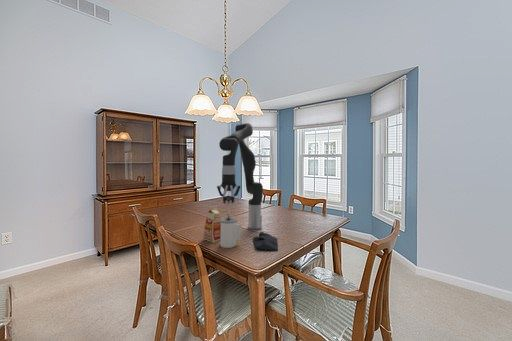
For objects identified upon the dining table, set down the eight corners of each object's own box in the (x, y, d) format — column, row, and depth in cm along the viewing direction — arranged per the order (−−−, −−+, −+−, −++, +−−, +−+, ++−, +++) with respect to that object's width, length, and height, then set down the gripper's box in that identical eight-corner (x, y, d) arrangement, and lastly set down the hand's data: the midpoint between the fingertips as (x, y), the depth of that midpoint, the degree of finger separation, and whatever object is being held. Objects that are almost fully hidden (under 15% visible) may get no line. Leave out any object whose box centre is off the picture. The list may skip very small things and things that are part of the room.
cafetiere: (239, 241, 146) (239, 217, 145) (242, 246, 137) (242, 221, 136) (219, 242, 143) (219, 217, 142) (221, 248, 134) (221, 222, 133)
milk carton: (213, 242, 143) (213, 209, 142) (202, 239, 148) (202, 207, 147) (223, 238, 151) (223, 206, 149) (212, 235, 155) (212, 205, 154)
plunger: (231, 222, 141) (231, 194, 140) (231, 223, 137) (232, 195, 136) (224, 222, 140) (225, 194, 139) (225, 224, 137) (225, 195, 136)
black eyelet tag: (251, 251, 131) (251, 243, 131) (253, 238, 153) (253, 230, 153) (279, 252, 131) (279, 243, 131) (277, 238, 153) (277, 231, 153)
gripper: (239, 172, 142) (239, 201, 143) (215, 173, 139) (215, 202, 140) (242, 173, 135) (241, 204, 136) (216, 173, 132) (216, 204, 133)
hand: (228, 203), depth 138 cm, fingers closed on plunger, 3 cm apart
